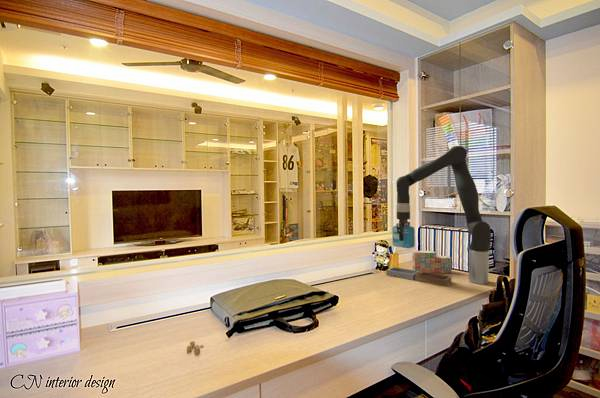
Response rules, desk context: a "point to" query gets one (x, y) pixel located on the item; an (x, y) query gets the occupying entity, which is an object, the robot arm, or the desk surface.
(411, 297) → the desk surface
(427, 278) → the walnut bin
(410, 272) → the grey bin
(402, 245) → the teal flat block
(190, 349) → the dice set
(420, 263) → the stack of blocks
